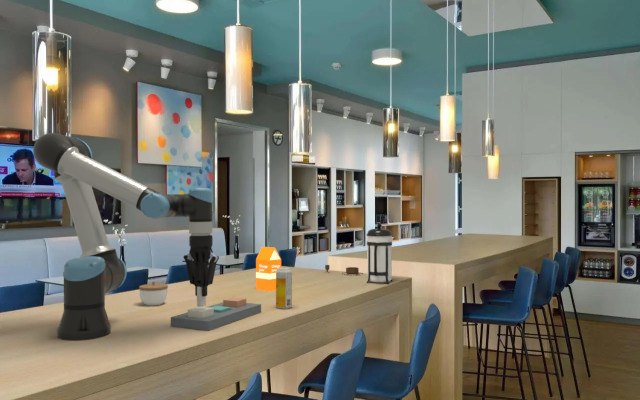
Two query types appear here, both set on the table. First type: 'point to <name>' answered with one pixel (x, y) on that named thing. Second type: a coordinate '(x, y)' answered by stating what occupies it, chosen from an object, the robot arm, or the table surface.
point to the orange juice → (267, 268)
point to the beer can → (283, 288)
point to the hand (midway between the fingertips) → (201, 305)
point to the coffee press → (379, 255)
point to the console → (216, 317)
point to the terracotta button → (234, 302)
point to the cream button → (200, 312)
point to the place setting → (347, 270)
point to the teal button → (221, 309)
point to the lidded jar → (153, 294)
